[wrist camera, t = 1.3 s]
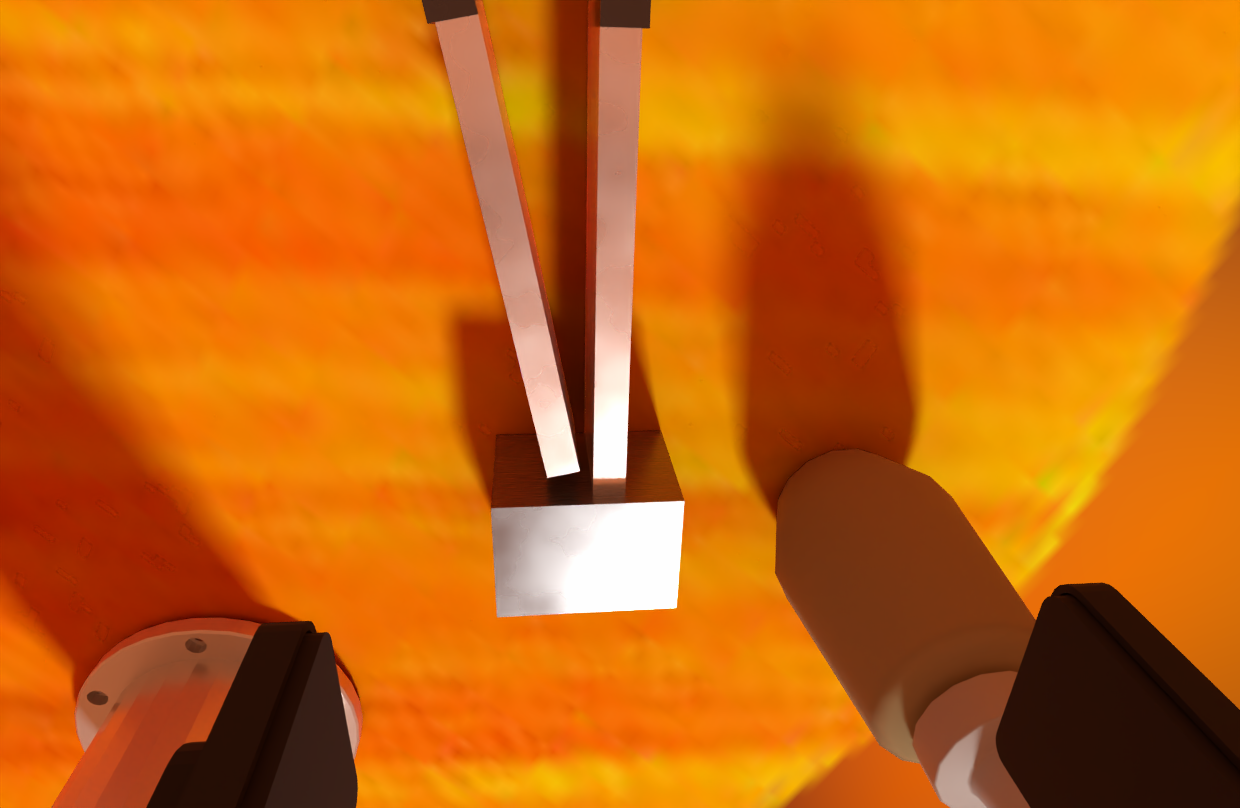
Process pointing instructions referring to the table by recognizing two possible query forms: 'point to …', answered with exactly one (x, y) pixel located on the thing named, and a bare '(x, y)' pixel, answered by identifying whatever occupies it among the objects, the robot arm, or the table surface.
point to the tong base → (596, 396)
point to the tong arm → (507, 222)
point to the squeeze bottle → (906, 615)
